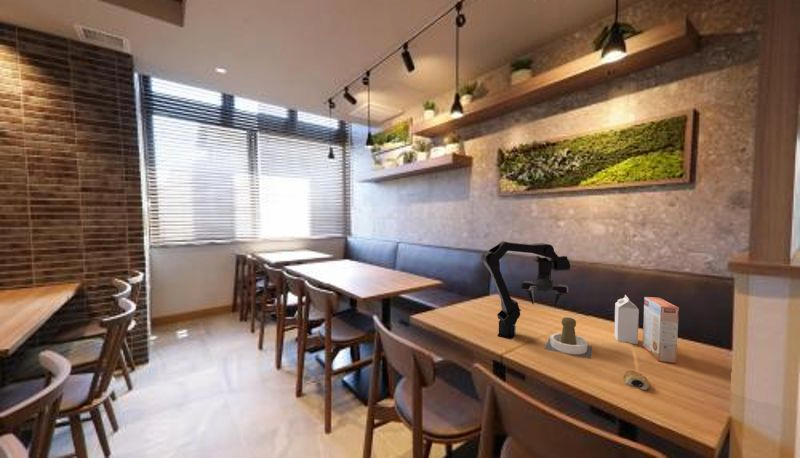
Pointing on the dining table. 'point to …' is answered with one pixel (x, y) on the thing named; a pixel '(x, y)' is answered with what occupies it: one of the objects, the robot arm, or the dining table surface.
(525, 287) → the robot arm
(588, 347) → the mat
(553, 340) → the bowl
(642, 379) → the pastry
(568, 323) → the pepper mill
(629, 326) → the milk carton
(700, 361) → the dining table surface
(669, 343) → the cracker box
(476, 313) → the dining table surface
